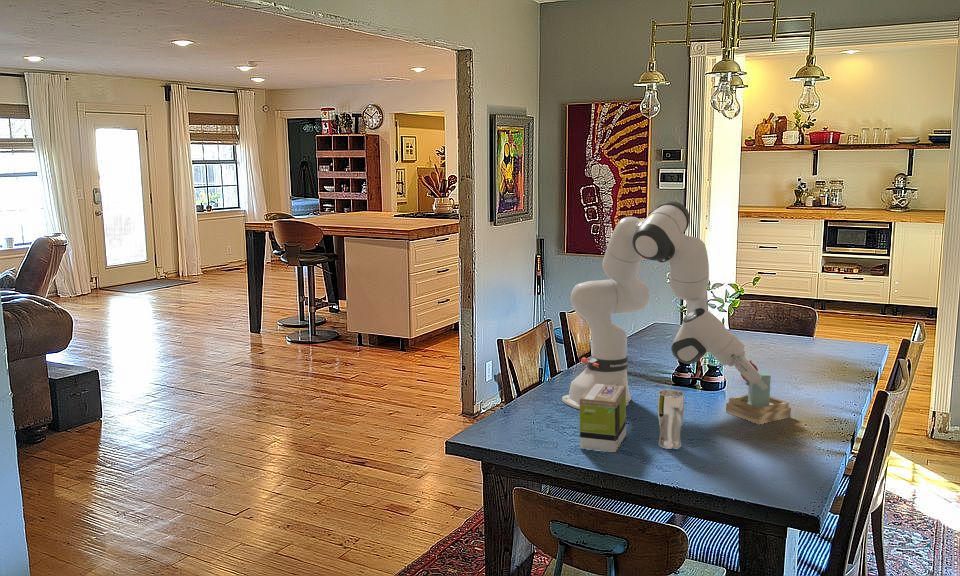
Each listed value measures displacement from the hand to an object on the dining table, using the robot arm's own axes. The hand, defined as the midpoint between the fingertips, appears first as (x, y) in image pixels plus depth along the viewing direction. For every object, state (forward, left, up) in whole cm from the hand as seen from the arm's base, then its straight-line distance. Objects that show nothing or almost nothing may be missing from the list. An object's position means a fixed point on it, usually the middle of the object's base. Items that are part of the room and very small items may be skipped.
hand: (761, 383), depth 236 cm
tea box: (-55, +5, -10) cm, 56 cm away
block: (0, 0, -7) cm, 7 cm away
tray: (-1, 0, -10) cm, 10 cm away
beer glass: (-41, -6, -10) cm, 42 cm away
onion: (+22, +26, -10) cm, 36 cm away
